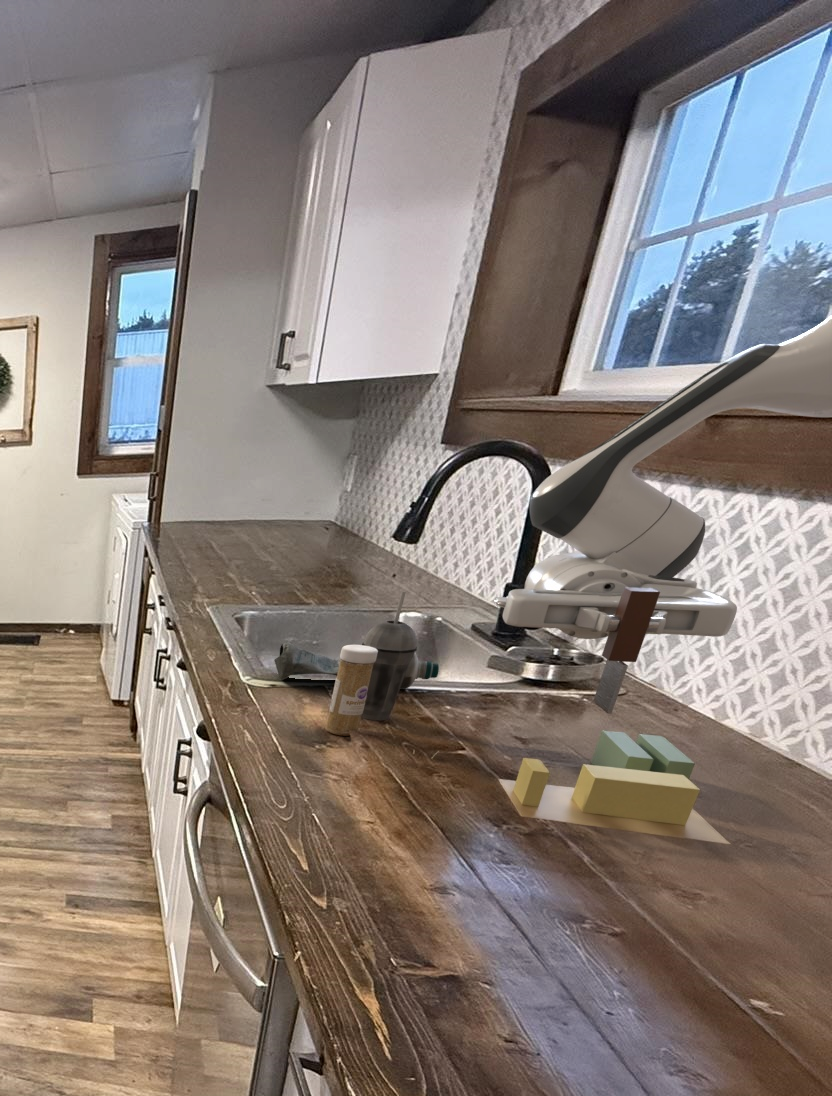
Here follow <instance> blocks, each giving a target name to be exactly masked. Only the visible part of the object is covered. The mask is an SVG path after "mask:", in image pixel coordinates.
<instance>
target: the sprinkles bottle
mask: <svg viewBox="0 0 832 1096" xmlns="http://www.w3.org/2000/svg"><path fill="white" fill-rule="evenodd" d="M377 653H378V650H377V649H376V648H373V647H370V646H364V645H362V644H347V645H343V646H342V648H341V650H340V655H339V660H340V665H339V671H338V675H337V676H336V678H335V682H334V686H333V690H332V696H331V698H330V704H329V712H328V717H327V721H326V724H325V726H324V729H325V731H326V732H328V733H330V734H333V735H336V736H344V737H345V736H346V737H349V736H351V734H350V731H357V732H359V730H360V724H361V720H362V717H361V716H362V713H363V710H364V706H365V701H366V697H367V690H368V686H369V682H370V677H371V673H372V668H373V665H374V662H375V661H376V658H377Z"/></svg>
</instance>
